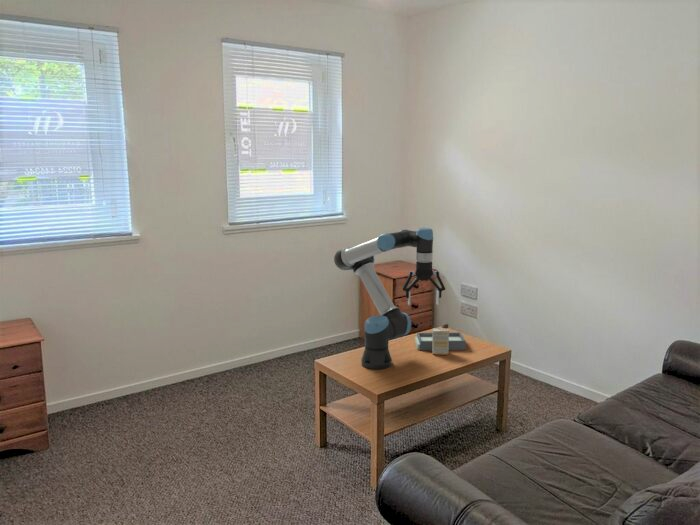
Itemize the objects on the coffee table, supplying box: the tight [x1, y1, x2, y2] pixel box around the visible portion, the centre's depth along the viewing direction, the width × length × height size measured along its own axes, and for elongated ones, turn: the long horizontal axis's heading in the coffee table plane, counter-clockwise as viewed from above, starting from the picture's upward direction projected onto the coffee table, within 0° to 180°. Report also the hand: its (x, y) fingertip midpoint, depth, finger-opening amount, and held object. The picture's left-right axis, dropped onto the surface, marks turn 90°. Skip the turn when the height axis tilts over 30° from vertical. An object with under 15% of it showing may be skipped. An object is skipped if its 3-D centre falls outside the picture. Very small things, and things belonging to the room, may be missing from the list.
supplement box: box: [431, 327, 450, 356], centre depth 286 cm, size 8×5×13 cm, turn 84°
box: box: [414, 331, 467, 351], centre depth 298 cm, size 25×14×5 cm, turn 90°
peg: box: [441, 322, 449, 330], centre depth 298 cm, size 3×3×12 cm
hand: (423, 304), depth 263 cm, fingers open, 13 cm apart
